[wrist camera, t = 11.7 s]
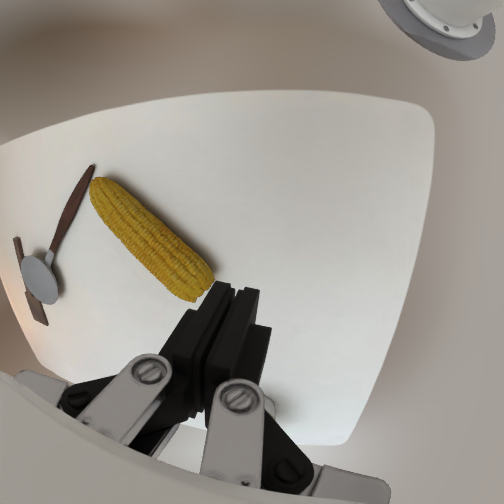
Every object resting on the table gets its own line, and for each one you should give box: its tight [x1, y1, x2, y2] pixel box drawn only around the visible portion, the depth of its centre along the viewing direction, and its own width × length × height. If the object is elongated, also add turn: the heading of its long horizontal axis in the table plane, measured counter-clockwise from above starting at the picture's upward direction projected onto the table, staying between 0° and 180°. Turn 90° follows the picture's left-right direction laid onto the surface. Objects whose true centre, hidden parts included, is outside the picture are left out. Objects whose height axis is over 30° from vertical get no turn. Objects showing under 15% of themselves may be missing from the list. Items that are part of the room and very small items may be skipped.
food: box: [89, 177, 215, 303], centre depth 34 cm, size 21×6×6 cm, turn 50°
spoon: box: [21, 165, 94, 305], centre depth 41 cm, size 11×33×3 cm, turn 136°
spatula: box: [13, 237, 49, 326], centre depth 49 cm, size 22×6×1 cm, turn 175°
